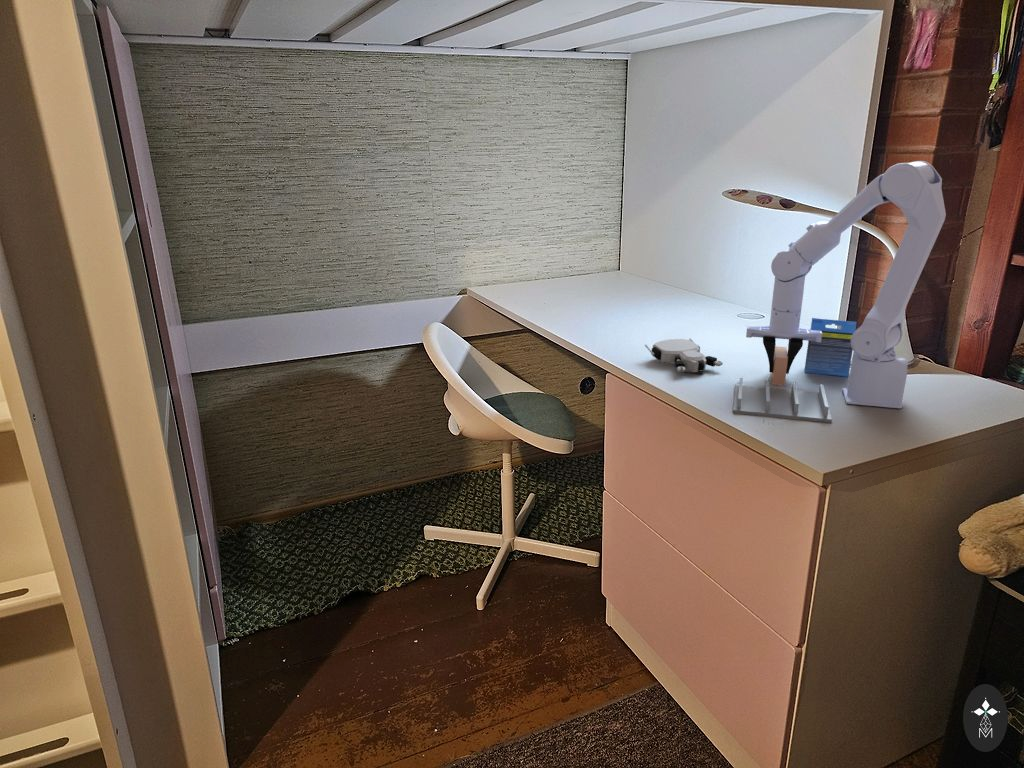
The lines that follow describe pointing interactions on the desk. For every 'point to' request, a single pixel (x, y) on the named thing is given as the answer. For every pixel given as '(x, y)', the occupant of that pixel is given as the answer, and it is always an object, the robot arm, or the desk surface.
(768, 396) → the rack
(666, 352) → the robot toy
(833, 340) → the label tape box
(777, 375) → the tile
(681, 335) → the desk surface
